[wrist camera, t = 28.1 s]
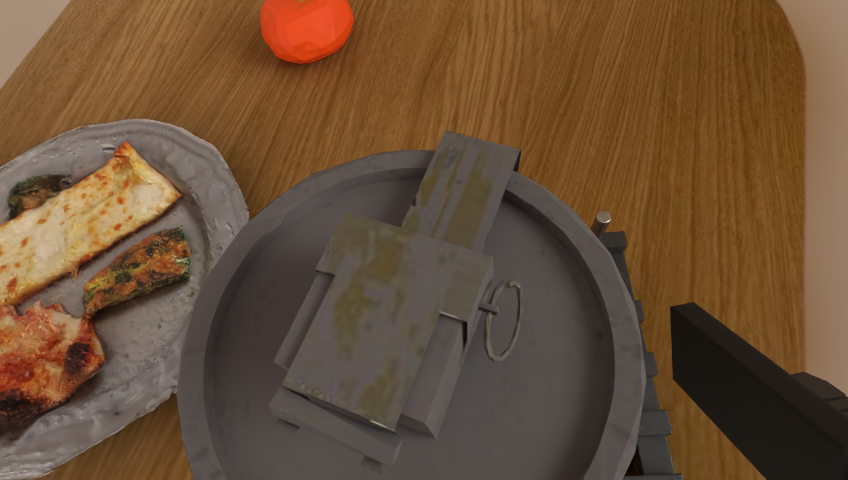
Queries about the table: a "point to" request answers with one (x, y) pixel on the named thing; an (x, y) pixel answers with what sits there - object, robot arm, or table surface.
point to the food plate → (102, 280)
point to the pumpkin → (305, 28)
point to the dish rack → (652, 445)
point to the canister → (413, 331)
